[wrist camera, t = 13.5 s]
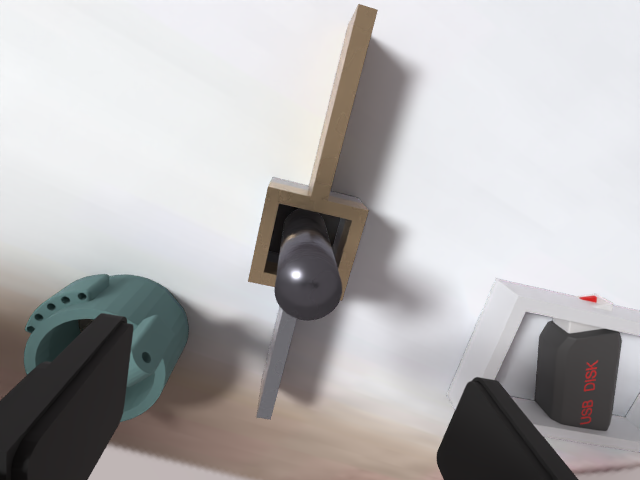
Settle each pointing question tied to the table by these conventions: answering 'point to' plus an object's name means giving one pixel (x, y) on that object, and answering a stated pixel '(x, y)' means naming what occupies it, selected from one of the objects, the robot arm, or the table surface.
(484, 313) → the parts tray frame
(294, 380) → the table surface
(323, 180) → the hinge
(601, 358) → the usb flash stick
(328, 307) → the hinge pin
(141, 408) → the teal round tub
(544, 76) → the table surface
